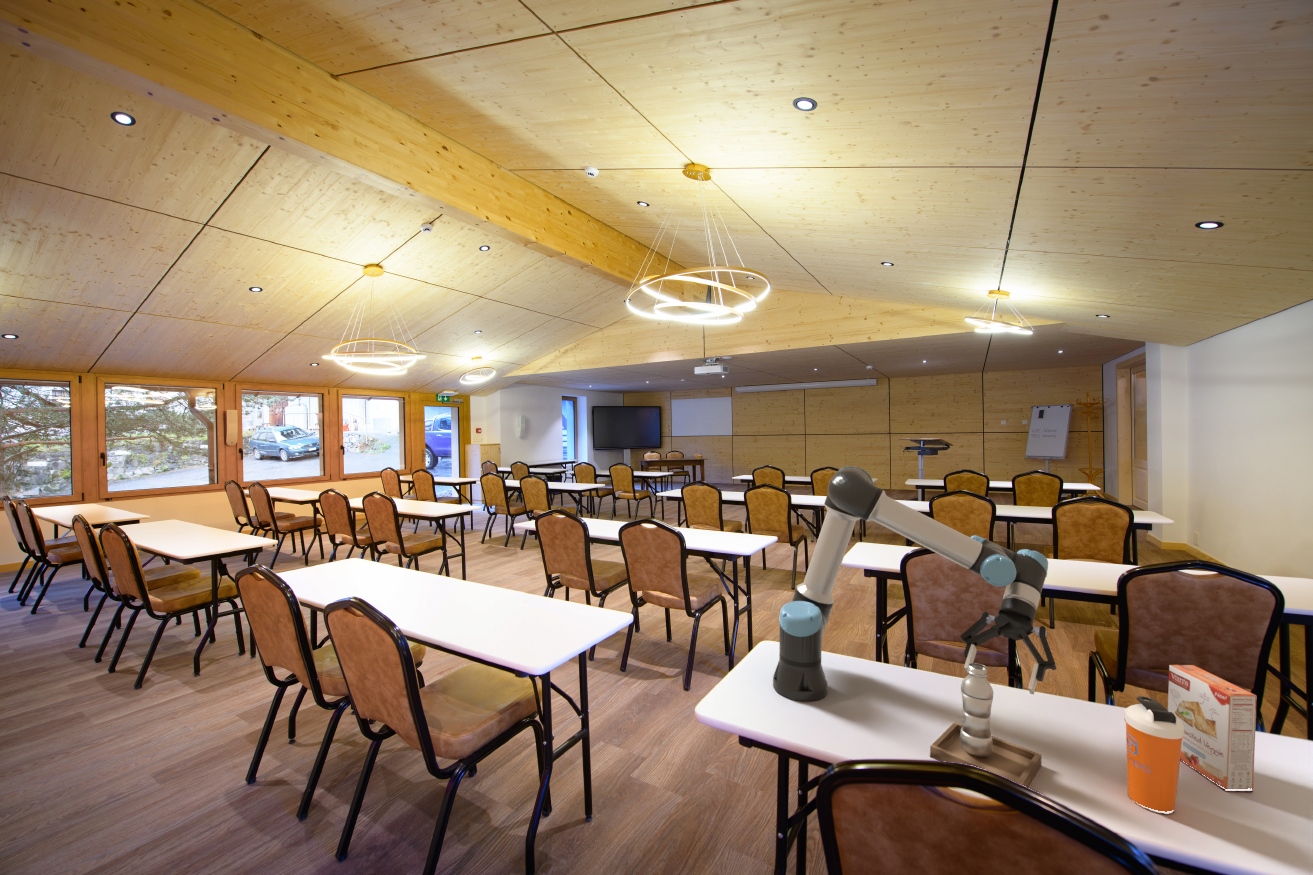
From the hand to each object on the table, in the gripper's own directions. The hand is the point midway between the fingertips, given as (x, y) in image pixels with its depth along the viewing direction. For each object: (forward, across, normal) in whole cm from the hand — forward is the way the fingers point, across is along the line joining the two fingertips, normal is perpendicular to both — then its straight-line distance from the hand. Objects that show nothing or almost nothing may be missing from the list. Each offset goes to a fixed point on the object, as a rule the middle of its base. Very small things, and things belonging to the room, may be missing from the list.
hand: (997, 680), depth 132 cm
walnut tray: (+18, -1, -2) cm, 18 cm away
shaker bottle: (+11, -28, -10) cm, 32 cm away
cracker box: (-5, -35, -25) cm, 43 cm away
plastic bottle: (+17, +1, -2) cm, 18 cm away
